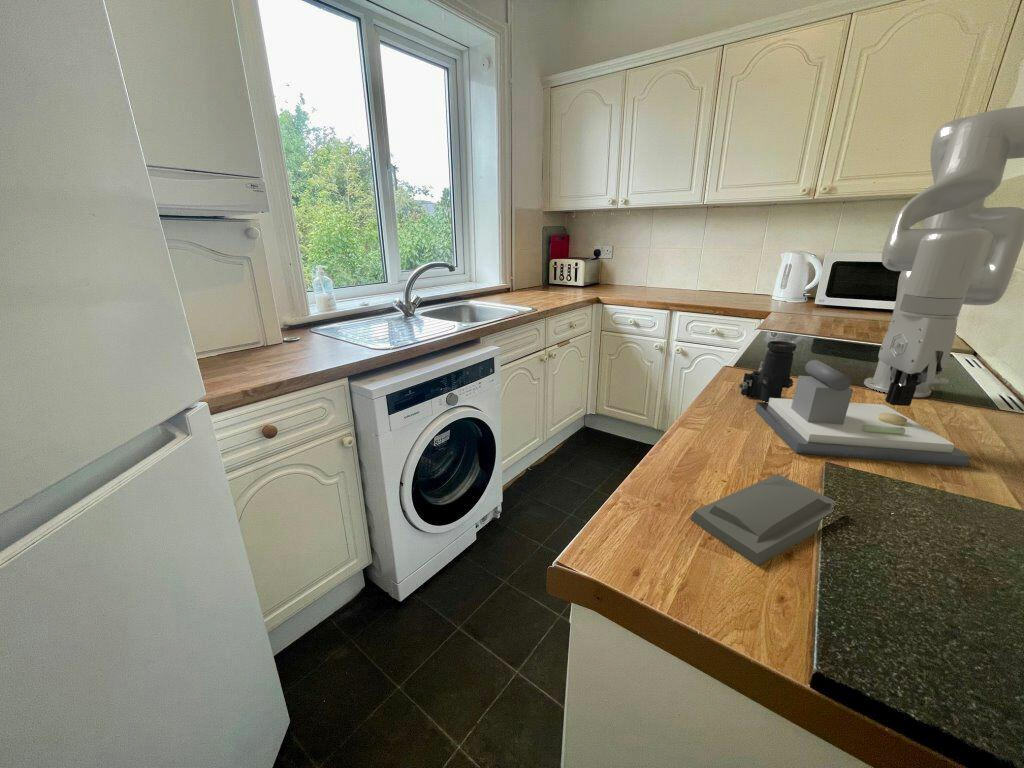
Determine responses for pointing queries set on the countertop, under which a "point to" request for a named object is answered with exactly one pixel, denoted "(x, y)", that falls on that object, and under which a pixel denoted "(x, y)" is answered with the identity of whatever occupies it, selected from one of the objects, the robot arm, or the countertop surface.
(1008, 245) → the robot arm
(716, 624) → the countertop surface
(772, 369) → the scope
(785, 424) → the leveling base
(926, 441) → the leveling plate
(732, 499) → the soap mold
